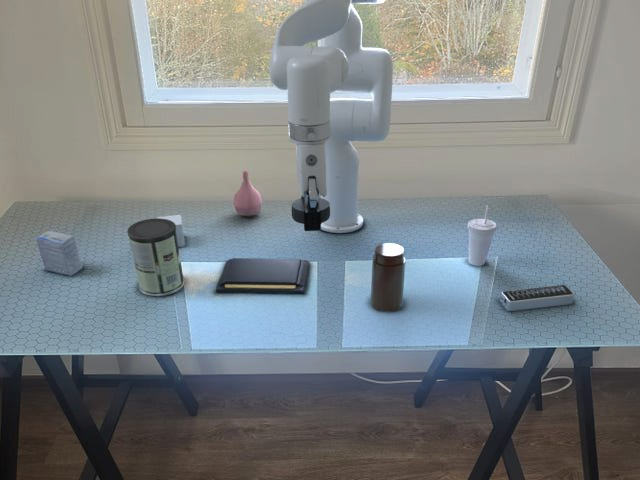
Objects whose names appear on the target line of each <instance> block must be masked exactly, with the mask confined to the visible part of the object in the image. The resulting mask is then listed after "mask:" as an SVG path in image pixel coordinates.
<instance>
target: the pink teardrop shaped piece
mask: <svg viewBox="0 0 640 480" xmlns="http://www.w3.org/2000/svg"><path fill="white" fill-rule="evenodd" d="M249 177H250V176H249V171H247V170H244V171H242V182H241V185H240V187H239V189H238V190H237V191H236V192H235V194H234V196H233V206H234V208H235V211H236V213H237V214H238V215H241V216H244V217H248V218H249V217H253V215H256V214H259V213H260V212H261V208H262V205H263V201H262V197H261V193H260V192H259V191H258V190H257V189H256V188H254V187H253V185H252V183H251V181H250V178H249Z"/></svg>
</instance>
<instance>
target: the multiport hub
mask: <svg viewBox="0 0 640 480" xmlns="http://www.w3.org/2000/svg"><path fill="white" fill-rule="evenodd" d="M574 297H575V293H574V292H573V291H572V289H570V288H569V287H568V286H567V285H566V284H557V285H548V286H542V287H541V286H540V287H533V288H532V287H530V288H523V289H514V290H513V289H512V290H506V291H505V290H504V291H501V294H500V299H499V303H500V304H501V305H502V306H503V307H504V308H505V310H506V311H507V312H516V311H524V310H533V309H540V308H550V307H551V308H552V307H556V306H557V307H559V306H566V305H572V304H573V301H574Z"/></svg>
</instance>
